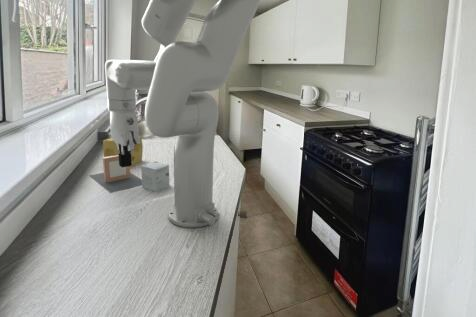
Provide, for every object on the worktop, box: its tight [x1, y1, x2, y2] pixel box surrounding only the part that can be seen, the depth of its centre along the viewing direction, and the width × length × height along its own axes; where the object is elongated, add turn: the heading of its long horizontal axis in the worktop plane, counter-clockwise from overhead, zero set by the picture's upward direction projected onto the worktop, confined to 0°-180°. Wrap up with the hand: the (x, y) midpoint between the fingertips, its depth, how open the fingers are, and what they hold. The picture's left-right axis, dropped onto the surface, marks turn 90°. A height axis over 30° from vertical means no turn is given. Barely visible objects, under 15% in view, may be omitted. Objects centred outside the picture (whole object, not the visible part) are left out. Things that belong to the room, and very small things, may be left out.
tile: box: [102, 155, 131, 183], centre depth 98 cm, size 1×8×8 cm, turn 134°
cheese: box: [102, 136, 144, 168], centre depth 115 cm, size 10×11×10 cm
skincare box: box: [140, 161, 170, 192], centre depth 94 cm, size 6×6×7 cm
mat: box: [88, 172, 142, 194], centre depth 99 cm, size 18×12×1 cm, turn 44°
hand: (125, 165), depth 92 cm, fingers closed
